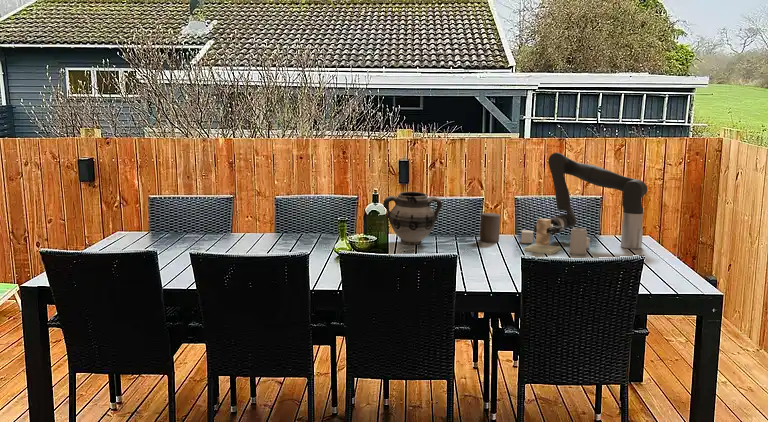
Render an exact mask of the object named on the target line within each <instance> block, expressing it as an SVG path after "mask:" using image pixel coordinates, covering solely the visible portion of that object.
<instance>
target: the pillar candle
mask: <svg viewBox="0 0 768 422" xmlns="http://www.w3.org/2000/svg"><path fill="white" fill-rule="evenodd" d="M500 226H501V214H499V213H494V212H491V211H490V212H483V213H481V214H480V231H479V241H480V242H483V243H489V244H491V243H493V244H495V243H496V244H497V243H499V241H500V228H501V227H500Z"/></svg>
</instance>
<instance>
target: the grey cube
mask: <svg viewBox="0 0 768 422" xmlns="http://www.w3.org/2000/svg"><path fill="white" fill-rule="evenodd" d="M533 239H534V230H528V229H527V230H526V229H521V240H520V241H521V242H520V243H524V244H533Z"/></svg>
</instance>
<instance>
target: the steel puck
mask: <svg viewBox="0 0 768 422" xmlns="http://www.w3.org/2000/svg"><path fill="white" fill-rule="evenodd" d="M590 244H591V238H590V237H588V236H587V246H586V251H588V250H590V246H591V245H590Z"/></svg>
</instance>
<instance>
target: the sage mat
mask: <svg viewBox="0 0 768 422" xmlns="http://www.w3.org/2000/svg"><path fill="white" fill-rule="evenodd" d="M561 249H562V248H561V246H557V245H551V244H549V245H546V246H544V245H537V244H536V242H535V243H531V244H530V245H527V246H526V247H525V246H524V252H532V253H539V254H545V255H552V254H555V253H557V252H559V251H561Z"/></svg>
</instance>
